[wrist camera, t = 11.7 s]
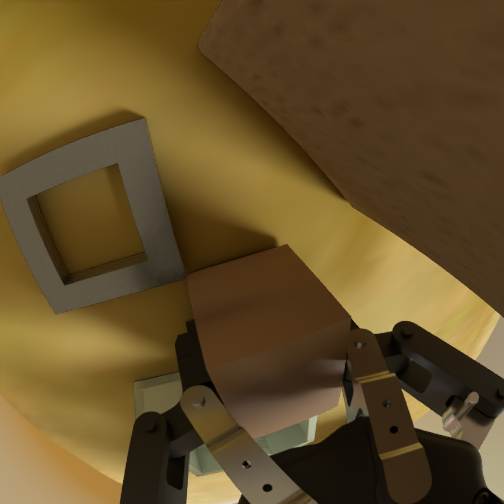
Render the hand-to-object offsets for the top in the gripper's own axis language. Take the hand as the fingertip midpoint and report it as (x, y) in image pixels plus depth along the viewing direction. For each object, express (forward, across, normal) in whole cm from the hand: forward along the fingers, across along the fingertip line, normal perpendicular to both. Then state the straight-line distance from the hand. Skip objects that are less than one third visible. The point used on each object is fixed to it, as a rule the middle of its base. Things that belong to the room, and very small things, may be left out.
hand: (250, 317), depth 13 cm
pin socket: (+1, +5, -6) cm, 8 cm away
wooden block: (+1, -7, -11) cm, 13 cm away
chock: (0, 0, 0) cm, 0 cm away
